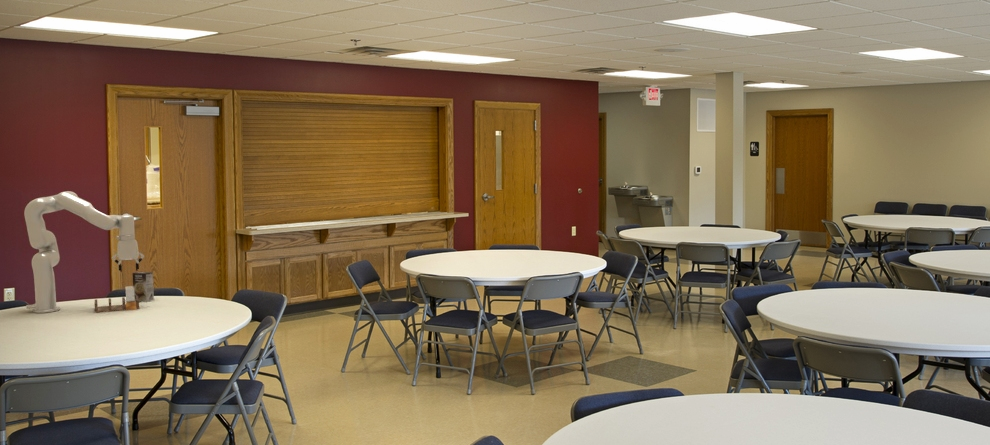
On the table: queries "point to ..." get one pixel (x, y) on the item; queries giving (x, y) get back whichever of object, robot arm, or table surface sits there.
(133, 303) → the rack
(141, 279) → the coffee box
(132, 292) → the panel
